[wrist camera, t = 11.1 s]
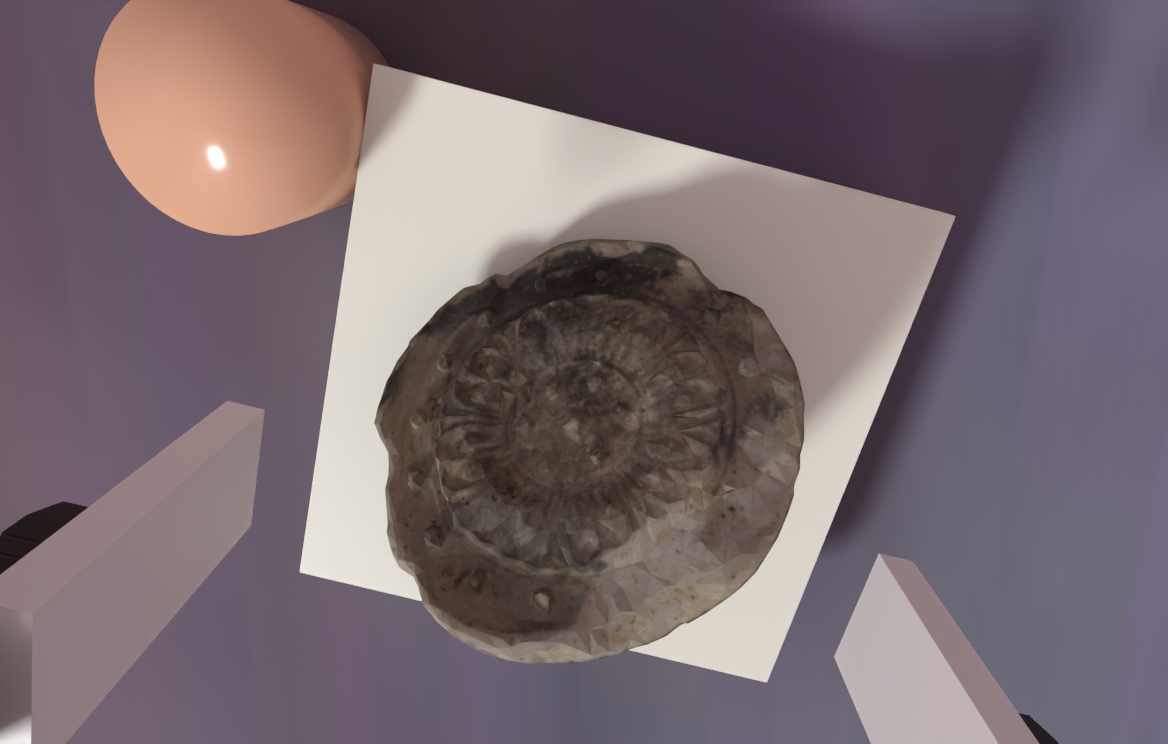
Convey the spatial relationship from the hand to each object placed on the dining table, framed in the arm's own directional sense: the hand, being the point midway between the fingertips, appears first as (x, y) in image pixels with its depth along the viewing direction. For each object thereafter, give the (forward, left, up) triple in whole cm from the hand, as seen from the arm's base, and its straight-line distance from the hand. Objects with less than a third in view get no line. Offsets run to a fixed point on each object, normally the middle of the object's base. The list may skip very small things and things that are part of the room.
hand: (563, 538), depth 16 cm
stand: (0, 0, -11) cm, 11 cm away
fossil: (0, 0, -7) cm, 7 cm away
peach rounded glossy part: (-11, +6, -11) cm, 17 cm away
